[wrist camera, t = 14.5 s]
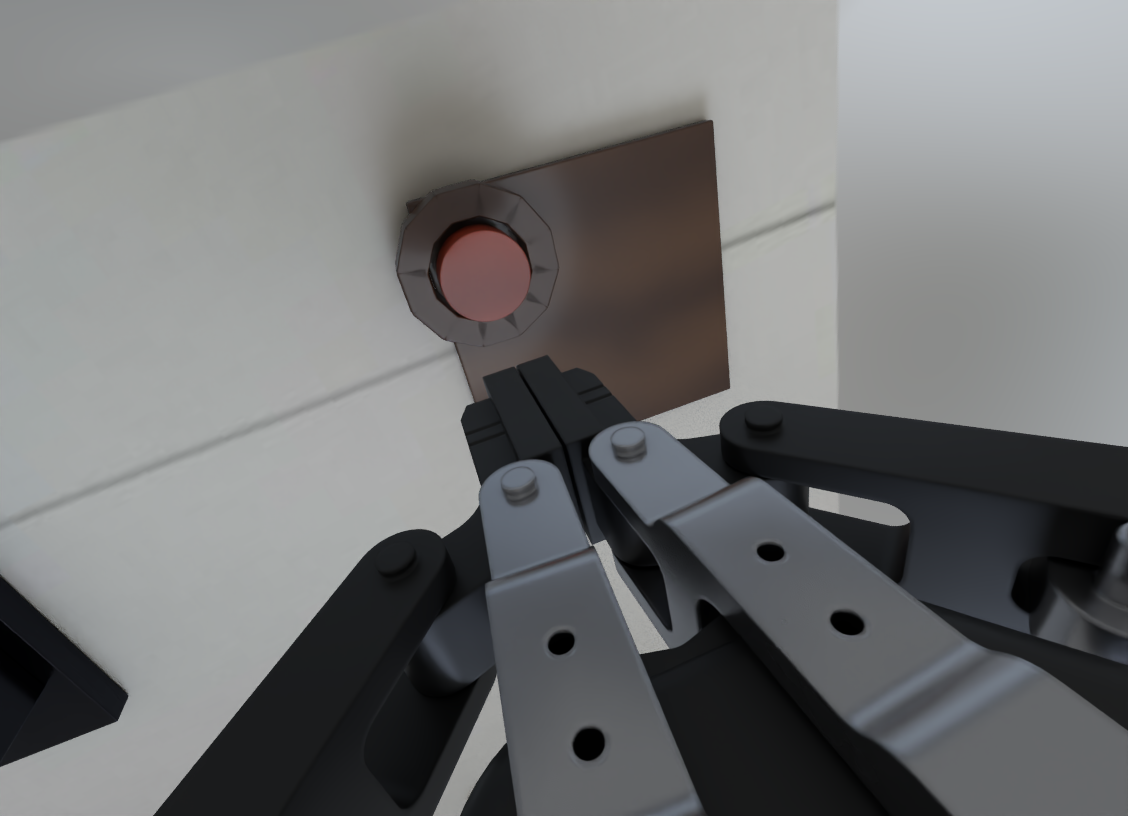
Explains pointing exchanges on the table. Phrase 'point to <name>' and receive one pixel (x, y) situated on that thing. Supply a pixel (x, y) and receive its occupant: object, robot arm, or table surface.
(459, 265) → the button
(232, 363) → the table surface
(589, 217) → the button block
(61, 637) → the bracket
